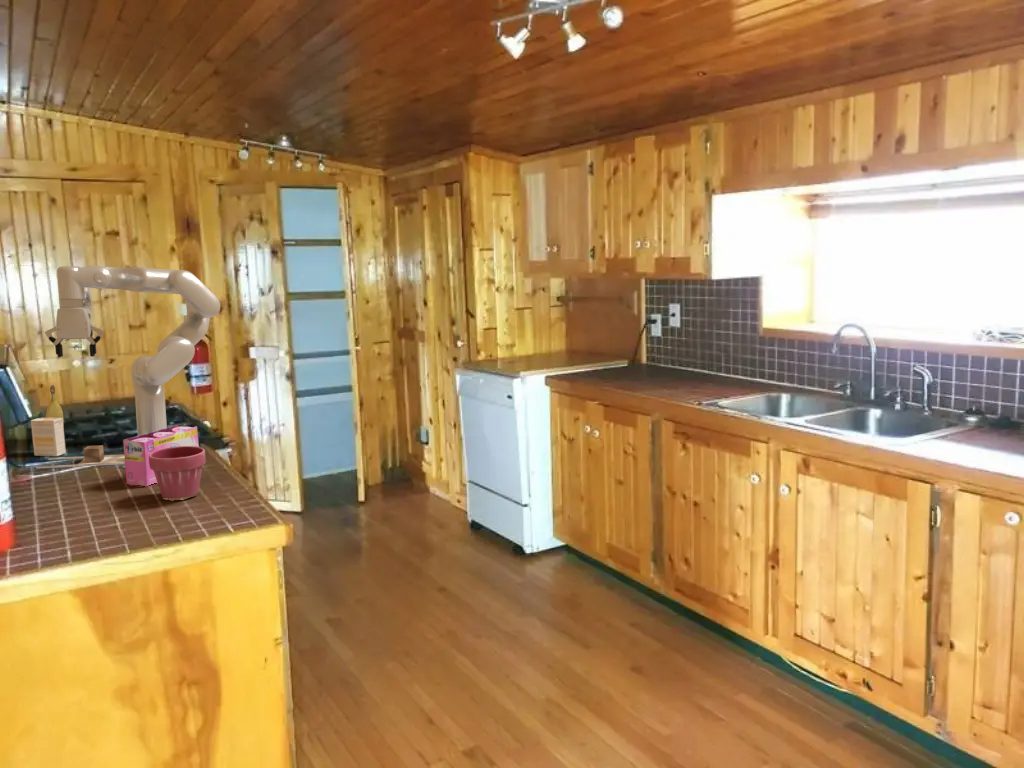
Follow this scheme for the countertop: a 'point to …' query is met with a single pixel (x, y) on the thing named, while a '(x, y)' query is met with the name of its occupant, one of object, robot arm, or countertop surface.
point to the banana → (54, 407)
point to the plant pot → (178, 470)
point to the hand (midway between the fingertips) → (76, 356)
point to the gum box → (148, 443)
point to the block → (93, 454)
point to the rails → (83, 464)
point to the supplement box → (48, 436)
